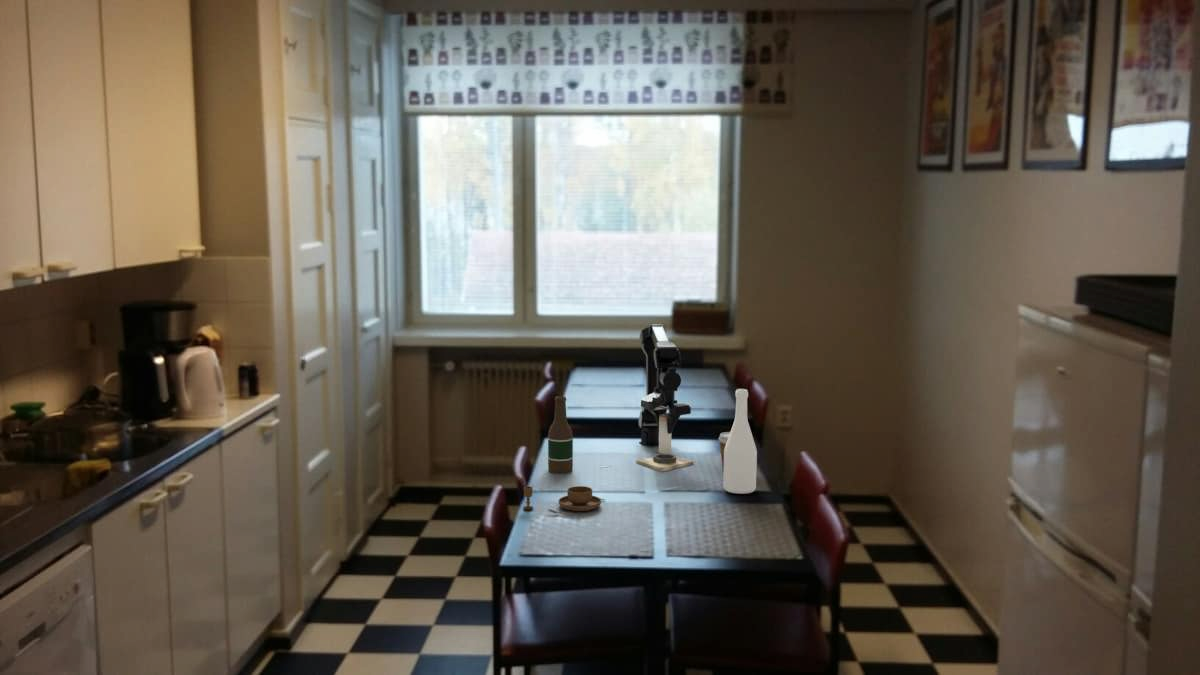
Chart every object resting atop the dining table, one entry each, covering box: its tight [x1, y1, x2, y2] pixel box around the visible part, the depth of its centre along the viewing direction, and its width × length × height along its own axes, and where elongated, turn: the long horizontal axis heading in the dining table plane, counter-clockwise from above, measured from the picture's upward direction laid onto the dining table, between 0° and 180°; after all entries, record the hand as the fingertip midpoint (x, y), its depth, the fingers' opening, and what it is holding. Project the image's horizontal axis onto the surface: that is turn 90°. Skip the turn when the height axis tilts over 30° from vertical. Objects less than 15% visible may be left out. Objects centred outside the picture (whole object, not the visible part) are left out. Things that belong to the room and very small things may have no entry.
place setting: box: [522, 485, 606, 517], centre depth 283 cm, size 18×20×6 cm
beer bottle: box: [547, 395, 574, 475], centre depth 315 cm, size 8×8×24 cm
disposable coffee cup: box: [718, 431, 731, 473], centre depth 316 cm, size 10×10×12 cm
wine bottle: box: [722, 388, 758, 495], centre depth 295 cm, size 10×10×30 cm
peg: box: [658, 414, 672, 454], centre depth 324 cm, size 4×4×12 cm
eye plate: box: [635, 453, 694, 472], centre depth 325 cm, size 14×12×3 cm
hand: (665, 432), depth 324 cm, fingers closed on peg, 4 cm apart
